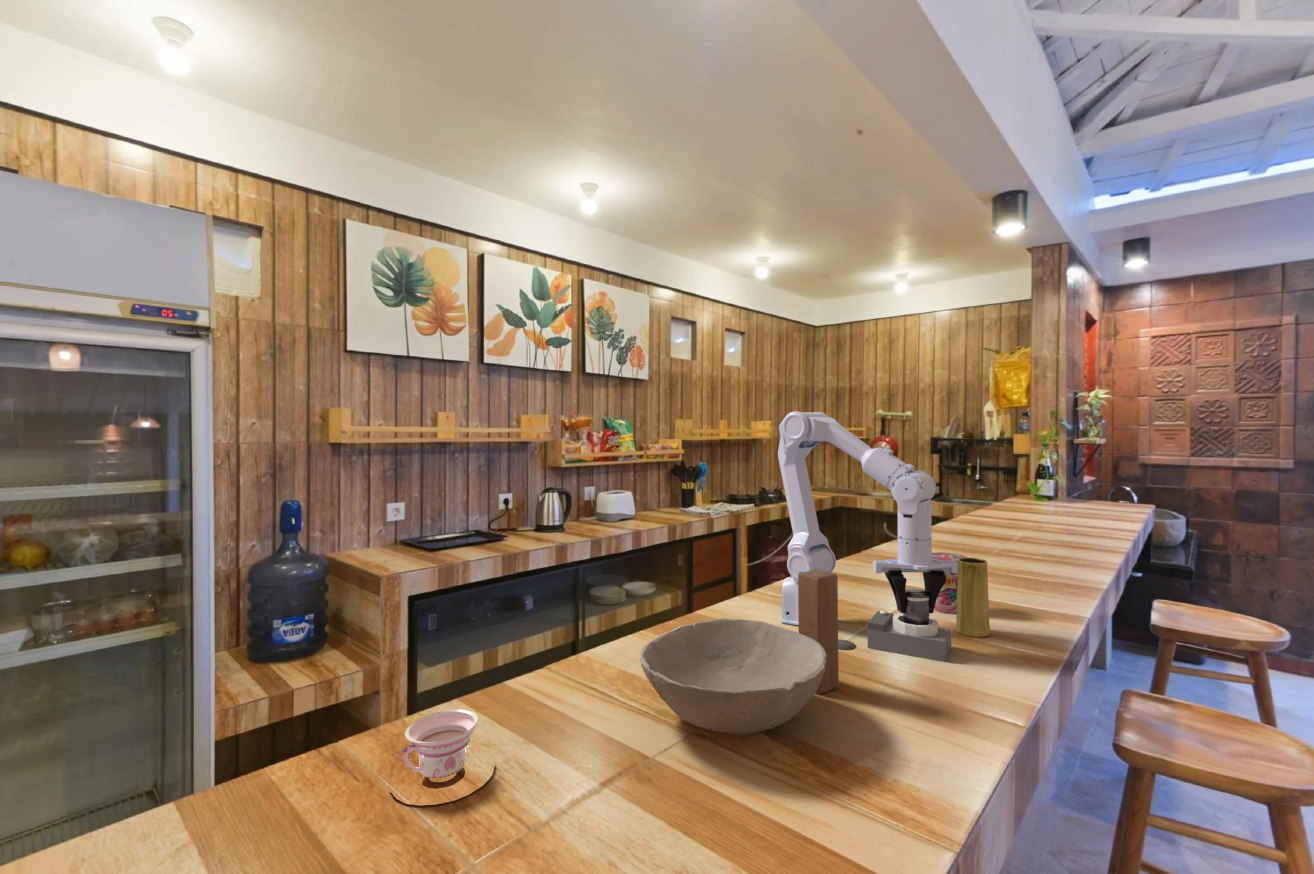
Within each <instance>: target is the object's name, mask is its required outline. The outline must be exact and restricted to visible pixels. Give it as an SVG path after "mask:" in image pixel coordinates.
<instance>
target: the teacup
mask: <svg viewBox="0 0 1314 874" xmlns="http://www.w3.org/2000/svg"><path fill="white" fill-rule="evenodd" d="M478 722H479V718H478V715H477V714H476V713H475V712H474V711H471V710H467V709H448V710H447V709H446V710H441V711H437V712H433V713H431V714H428V715H425V716H423V717H421V718H419V719H417V720H415V721H413V722H412V723H411V724H410V725H409V726H408V727H407V728H406V729H405V732H404V738H405V739H406V740H407V741H409V742H410V744H411V745H408V746H407V745H405V746H403V747H404V748H403V749H401V753H402V759H403V762H404V763H405V764H406V765H407V766H408V767H409V768H411V769H412V770H413V771H415V772H420V773H421V774H422V775H423V777H425V778H428V779H429V778H443V777H447V776H450V775H453V774H455V773H457V772H458V773H459V772H460V771H461V770H463V767H464V766H465V764H466V746H468V744H469V742H470V738H471V736H472V734H473V733H474V732H475V729H476V726H477V724H478ZM411 751H415V752H416V753H417V754H418V755H419V767H414V766H413V765H412V764H411V763H410V761H409V760H410V759H409V753H410V752H411ZM458 773H457V774H458Z"/></svg>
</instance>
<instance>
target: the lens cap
mask: <svg viewBox="0 0 1314 874" xmlns="http://www.w3.org/2000/svg"><path fill="white" fill-rule="evenodd" d="M855 648H856V644H855V643H854V642H853V641H850V640H846V639H838V651H839V650H840V651H850V650H854V649H855Z"/></svg>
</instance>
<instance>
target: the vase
mask: <svg viewBox="0 0 1314 874" xmlns="http://www.w3.org/2000/svg"><path fill="white" fill-rule="evenodd" d="M988 577H989V576H988V561H987V560H985V559H984V558H979V557H978V558H977V557H969V558H959V559H958V586H957V612H956V613H955V614H956V616H955V617H956V619H955V621H956V622H955V623H956V624H955V631H956V632H957V633H958V634H961V635H964V636H965V637H974V638H986V637H989V636H990V635H991V628H990V627H991V626H990V608H989V605H990V604H989V578H988Z"/></svg>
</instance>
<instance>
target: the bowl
mask: <svg viewBox="0 0 1314 874" xmlns="http://www.w3.org/2000/svg"><path fill="white" fill-rule="evenodd" d="M826 660H827V655H826V653H825V650H824V648H823V647H822V646H821V645H820V643H818V642H817V641H816V640H814V639H812V638H810V637H807V636H805V635H802V634H800V633H799V632H797V631H793V630H791V629H788V628H785V627H782V626H779V625H775V624H772V623H768V622H766V621H765V622H764V621H759V620H755V619H739V618H714V619H710V620H708V621H707V620H700V621H696V622H694V623H693V624H685V625H684V624H683V625H680V626H678V627H676V628H673V629H671V630H670V631H666V632H664V633H661V634H659V635H658V636H656V637H654V638H653V639H652V640H650V641H649V642H647V643H646V644H645V645H644V646H643V647H642V648H641V650H640V652H639V661H640V664H641V668H642V670H643V673H644V674H645V677H646V678H647V680H648V682H649V683H650V685H651V686H652V687H653V689H654V690H655V692H656V693H657V694H658V696H659V698H660V699H661V700H662V701H664V703H665V705H667V706H668V707H669V708H670V710H671V711H673V713H675V714H676V715H677V716H678V717H679V718H680V719H683V721H685V722H687V723H690V724H691V725H694V726H696V727H698V728H701V729H703V730H709V731H710V732H711V731H713V732H716V733H722V734H729V735H741V736H745V735H747V734H751V733H758V732H764V731H768V730H769V731H770V730H771V729H773V728H775V727H778V726H780V725H782V724H785V723H786V722H788V721H789V720H791V719H792V718H794V717H795V716H796V715H797V714H799V712H801V711H802V710H803V708H805V706H806V704H807V703H808V702H809V701H810V700H811V699H812V698H813V696H814V695H815V693H816V691H817V689H818V687H819V685H820V682H821V680H822V677H823V674H824V671H825V667H826Z"/></svg>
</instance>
